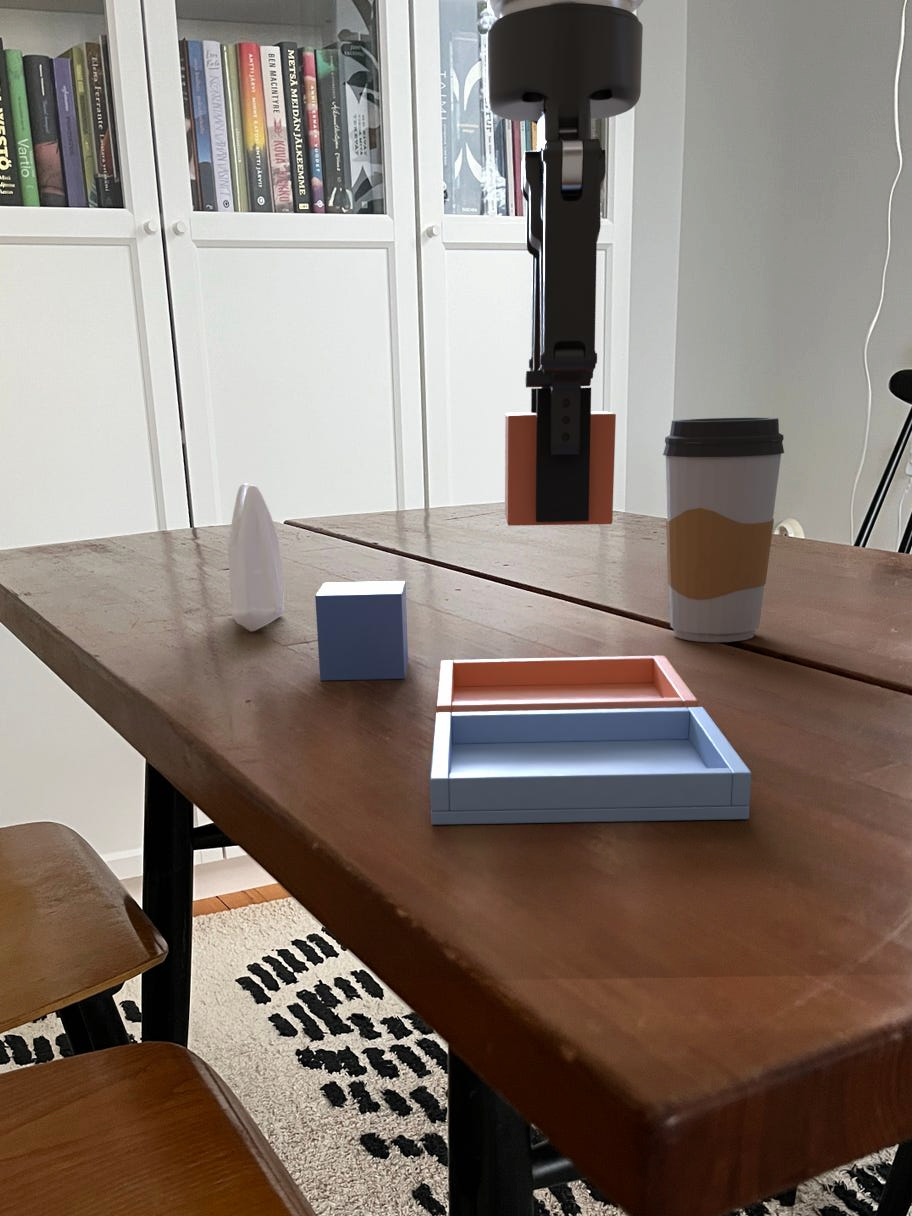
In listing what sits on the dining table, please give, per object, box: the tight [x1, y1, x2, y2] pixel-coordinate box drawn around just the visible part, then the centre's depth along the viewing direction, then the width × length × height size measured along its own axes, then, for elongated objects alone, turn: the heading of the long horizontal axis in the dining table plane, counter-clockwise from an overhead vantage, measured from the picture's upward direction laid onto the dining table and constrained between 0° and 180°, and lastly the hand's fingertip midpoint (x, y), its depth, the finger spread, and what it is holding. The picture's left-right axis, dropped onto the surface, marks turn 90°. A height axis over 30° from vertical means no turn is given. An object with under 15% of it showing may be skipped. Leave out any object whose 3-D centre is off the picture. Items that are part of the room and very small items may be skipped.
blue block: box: [314, 580, 409, 682], centre depth 83 cm, size 6×6×6 cm
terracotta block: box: [504, 410, 617, 527], centre depth 68 cm, size 6×6×6 cm
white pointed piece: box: [227, 483, 286, 632], centre depth 100 cm, size 12×4×11 cm, turn 7°
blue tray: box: [429, 706, 753, 826], centre depth 59 cm, size 14×12×2 cm
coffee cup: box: [662, 417, 785, 643], centre depth 90 cm, size 8×8×15 cm
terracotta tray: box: [436, 655, 699, 714], centre depth 71 cm, size 14×12×2 cm
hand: (558, 514), depth 69 cm, fingers closed on terracotta block, 5 cm apart
